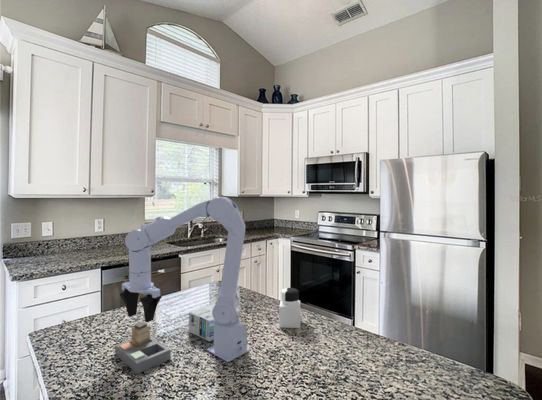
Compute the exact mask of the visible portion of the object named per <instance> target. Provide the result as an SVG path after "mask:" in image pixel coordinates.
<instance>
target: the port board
mask: <svg viewBox="0 0 542 400" xmlns="http://www.w3.org/2000/svg"><path fill="white" fill-rule="evenodd" d="M114 350H115V351H114V353H115V356H116V357H118V358H119V360H120V361H122V362H123V363H125V365H127V366H128V368H130V369H131V370H133V372H135V374H137V375H138V374H140V373H143V372H145V371H148V370H149V369H152V368H154V367H156V366H158V365H160V364H163V363H165V362H167V361H169V360H171V356H172V355H171V349H170V348H169V347H167V346H166V345H164V344H163V343H161V342H160V341H159V340H157V339H156V338H154V337H152V336H151V335H150V342H149V343H147V344H144V345H142V346H139V347H137V348H136V347H135V346H133V345H132V338H131V339H129V340H127V341H123V342H119V343H117V344H115V346H114Z"/></svg>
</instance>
